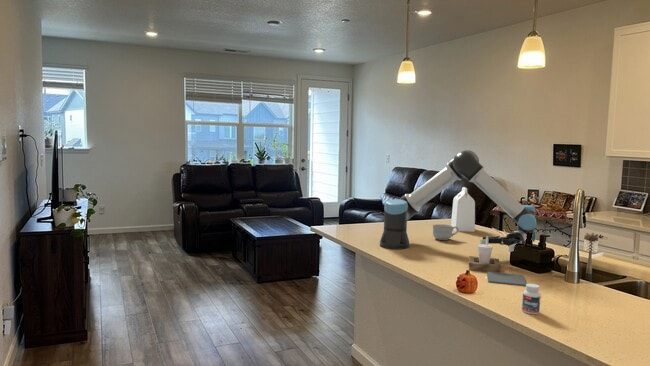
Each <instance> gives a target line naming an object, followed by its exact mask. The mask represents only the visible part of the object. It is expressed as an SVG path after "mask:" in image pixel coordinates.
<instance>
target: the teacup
mask: <svg viewBox="0 0 650 366" xmlns="http://www.w3.org/2000/svg"><path fill="white" fill-rule="evenodd" d="M454 228H456V229H457V231H455V232H453V231H454ZM459 232H460V231H459V229H458V227H456V226H454V227H453V226H451V224H441V223H440V224H432V236H433V237H434V238H435V239H436V240H440V241H449V240H450V238H452V237H453V236H455V235H457V234H458V233H459Z"/></svg>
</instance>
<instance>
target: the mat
mask: <svg viewBox="0 0 650 366" xmlns="http://www.w3.org/2000/svg"><path fill="white" fill-rule="evenodd" d="M486 275H487V282H488V283H493V284H502V285H503V284H504V285H511V286H521V287H526V284H527V282H526V279H525V277H524V274H518V273H509V272H508V273H507V272H500V273H499V272H489V271H487V272H486Z"/></svg>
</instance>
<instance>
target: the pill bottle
mask: <svg viewBox="0 0 650 366" xmlns="http://www.w3.org/2000/svg"><path fill="white" fill-rule="evenodd" d="M539 291H540V286H539V285H538V284H536V283H526V286H525V290H524V291H523V292H522V301H521V302H522V303H521V311H522V312H523V313H525V314H528V315H538V314H539V313H540V307H541V306H540V305H541V293H540V292H539Z"/></svg>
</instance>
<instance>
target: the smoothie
mask: <svg viewBox="0 0 650 366" xmlns="http://www.w3.org/2000/svg"><path fill="white" fill-rule="evenodd" d="M485 237H486V244H480V243H479V244H477V250H478V251H477V252H478V257H479V263H487V264H489V262H490V258H492V251H493V249H494V246H493V245H491V244H488V245H487V240H488V237H489V236H488V235H486V236H485Z"/></svg>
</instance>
